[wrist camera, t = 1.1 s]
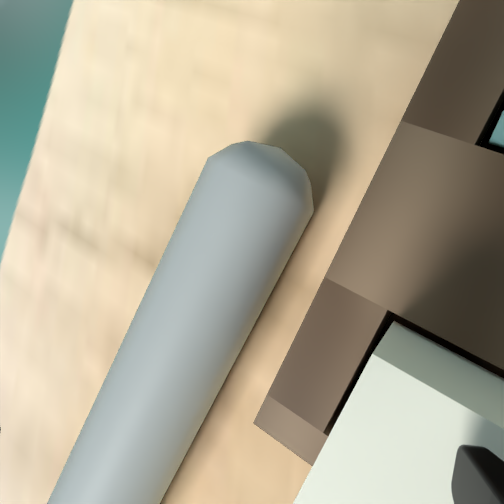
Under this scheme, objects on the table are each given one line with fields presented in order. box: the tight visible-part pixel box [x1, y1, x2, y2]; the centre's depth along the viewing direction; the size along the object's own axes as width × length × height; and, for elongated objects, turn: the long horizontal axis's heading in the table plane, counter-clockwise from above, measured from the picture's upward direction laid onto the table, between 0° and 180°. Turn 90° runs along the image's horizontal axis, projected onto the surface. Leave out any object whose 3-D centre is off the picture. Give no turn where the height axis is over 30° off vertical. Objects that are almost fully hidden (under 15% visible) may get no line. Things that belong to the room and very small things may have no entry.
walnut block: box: [253, 0, 504, 466], centre depth 13 cm, size 9×17×5 cm, turn 153°
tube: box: [47, 141, 314, 504], centre depth 19 cm, size 5×5×25 cm
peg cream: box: [293, 321, 504, 504], centre depth 10 cm, size 4×4×5 cm
